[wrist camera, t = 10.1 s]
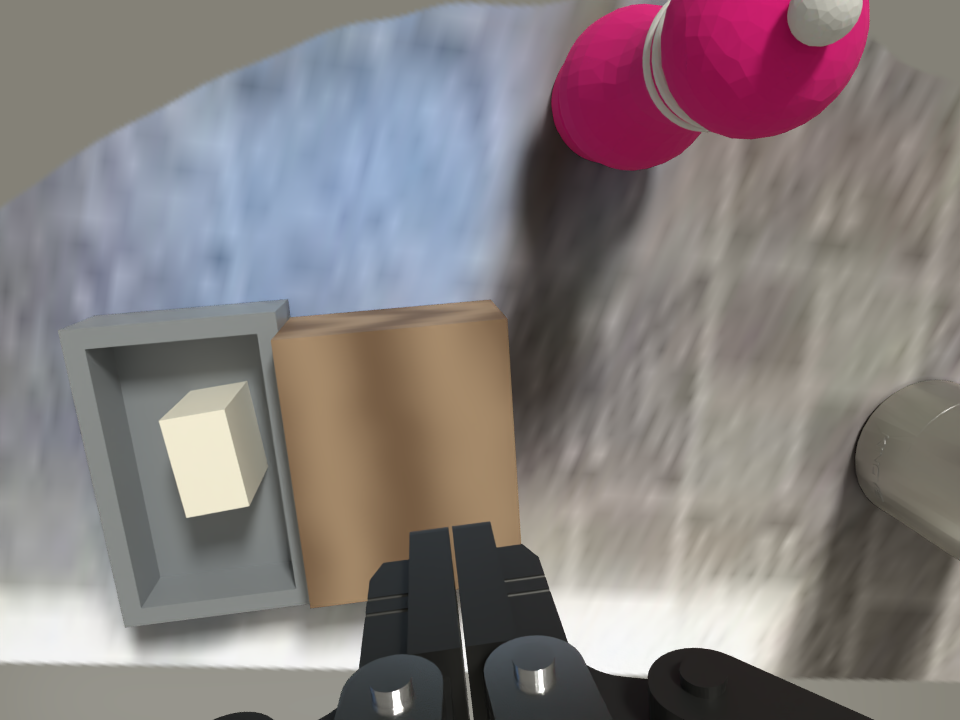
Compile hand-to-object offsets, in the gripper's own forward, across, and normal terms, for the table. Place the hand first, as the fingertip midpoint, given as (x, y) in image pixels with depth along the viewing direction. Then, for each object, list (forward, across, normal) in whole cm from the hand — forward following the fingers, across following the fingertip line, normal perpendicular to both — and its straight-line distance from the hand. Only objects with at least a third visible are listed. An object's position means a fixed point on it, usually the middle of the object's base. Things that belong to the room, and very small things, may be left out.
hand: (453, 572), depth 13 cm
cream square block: (+23, +10, +4) cm, 25 cm away
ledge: (+26, +2, +6) cm, 27 cm away
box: (+26, +12, +6) cm, 29 cm away
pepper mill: (+27, -11, -11) cm, 31 cm away
